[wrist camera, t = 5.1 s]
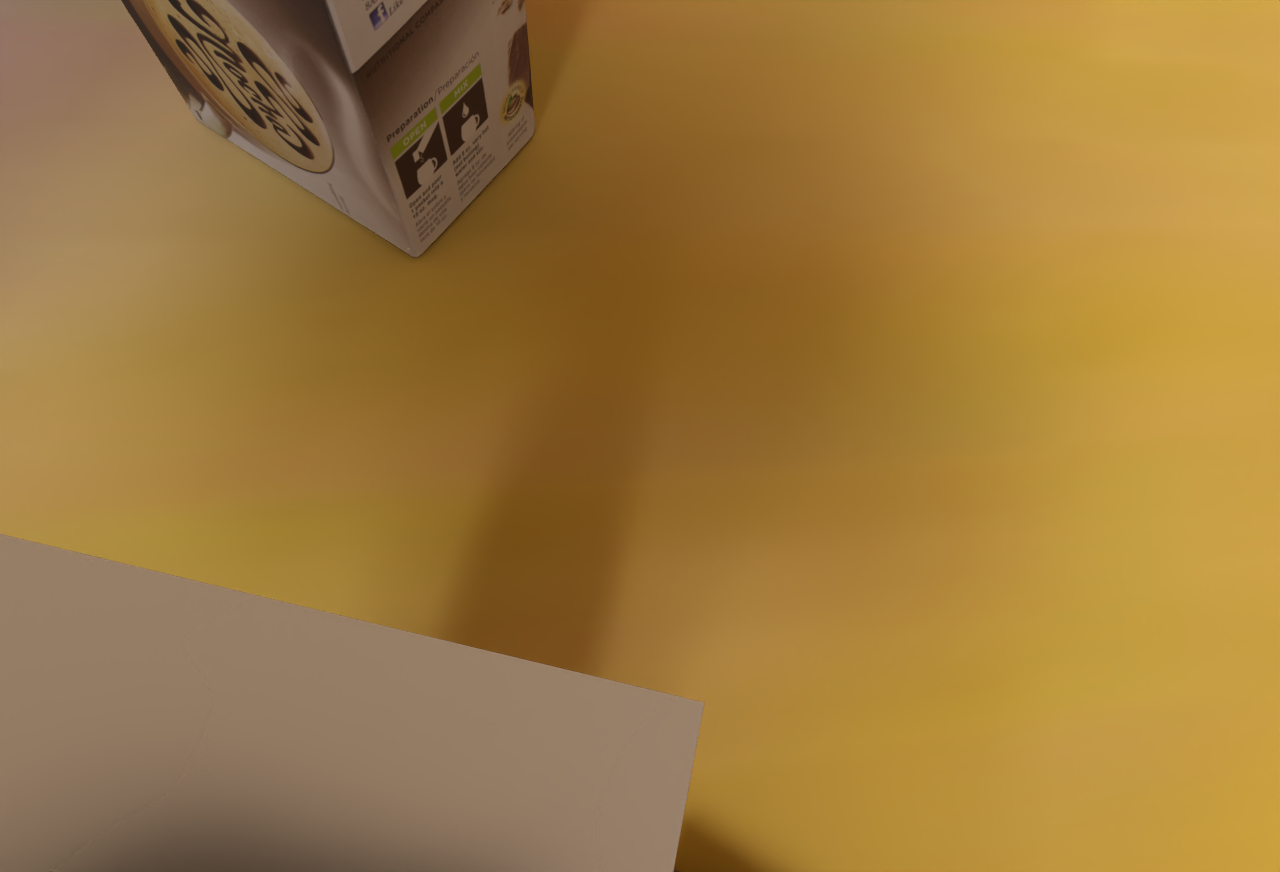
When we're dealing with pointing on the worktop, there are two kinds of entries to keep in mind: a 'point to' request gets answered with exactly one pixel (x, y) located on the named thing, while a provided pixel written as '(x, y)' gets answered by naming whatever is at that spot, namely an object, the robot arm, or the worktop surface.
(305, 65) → the coffee box
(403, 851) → the aluminium block
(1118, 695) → the worktop surface
